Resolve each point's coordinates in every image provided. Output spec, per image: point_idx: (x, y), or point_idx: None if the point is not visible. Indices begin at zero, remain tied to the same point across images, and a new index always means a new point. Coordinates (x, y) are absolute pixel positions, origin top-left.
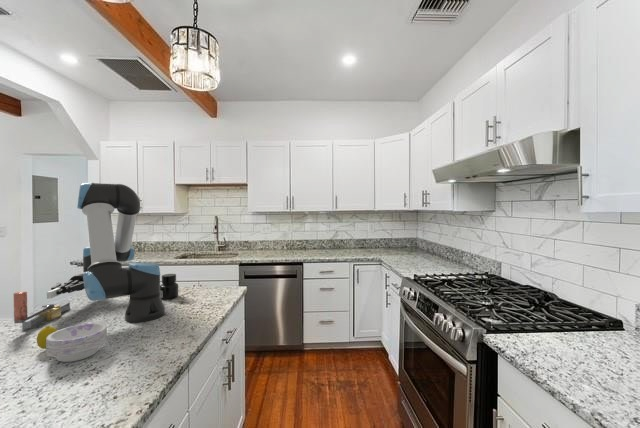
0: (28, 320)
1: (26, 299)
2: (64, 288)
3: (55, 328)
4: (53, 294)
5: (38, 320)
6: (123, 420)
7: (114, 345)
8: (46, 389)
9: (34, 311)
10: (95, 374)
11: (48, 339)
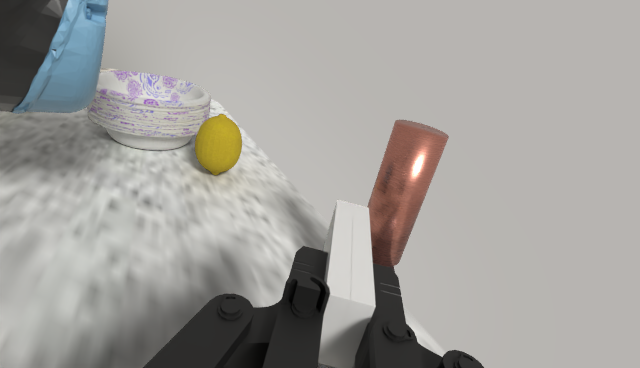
0: None
1: (383, 160)
2: (284, 308)
3: (204, 122)
4: (326, 243)
5: (354, 366)
6: (121, 70)
7: (68, 133)
8: None
9: None
10: None
11: (204, 89)
